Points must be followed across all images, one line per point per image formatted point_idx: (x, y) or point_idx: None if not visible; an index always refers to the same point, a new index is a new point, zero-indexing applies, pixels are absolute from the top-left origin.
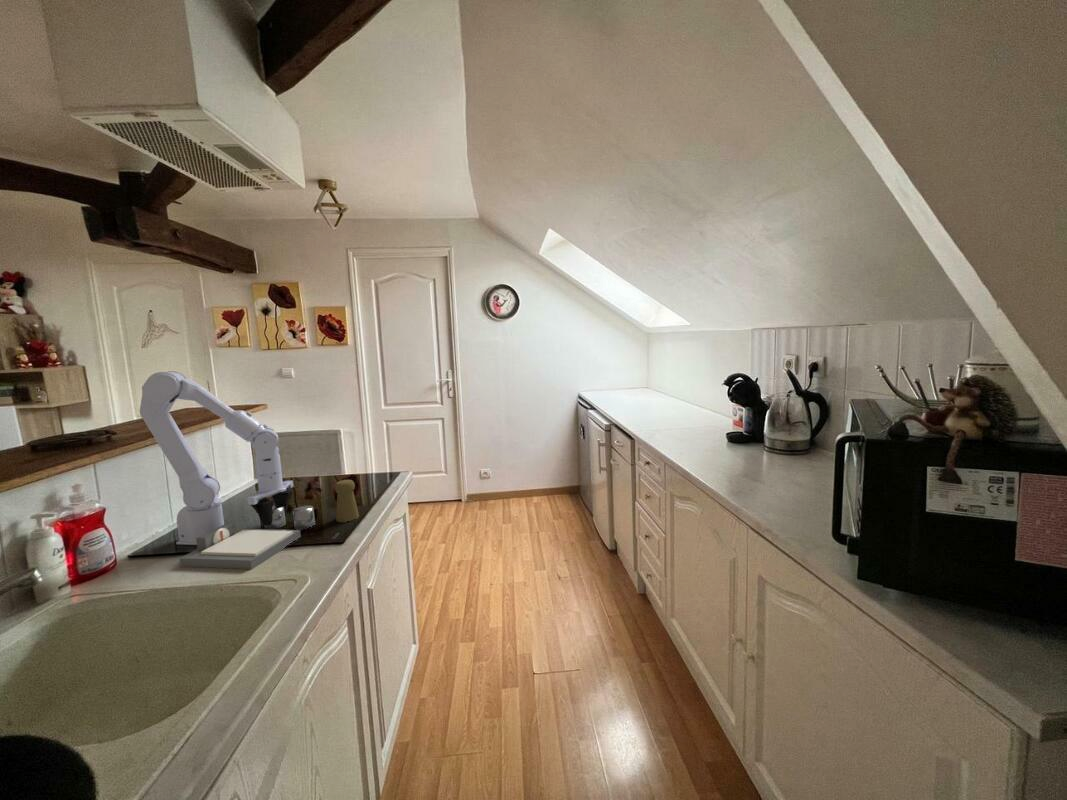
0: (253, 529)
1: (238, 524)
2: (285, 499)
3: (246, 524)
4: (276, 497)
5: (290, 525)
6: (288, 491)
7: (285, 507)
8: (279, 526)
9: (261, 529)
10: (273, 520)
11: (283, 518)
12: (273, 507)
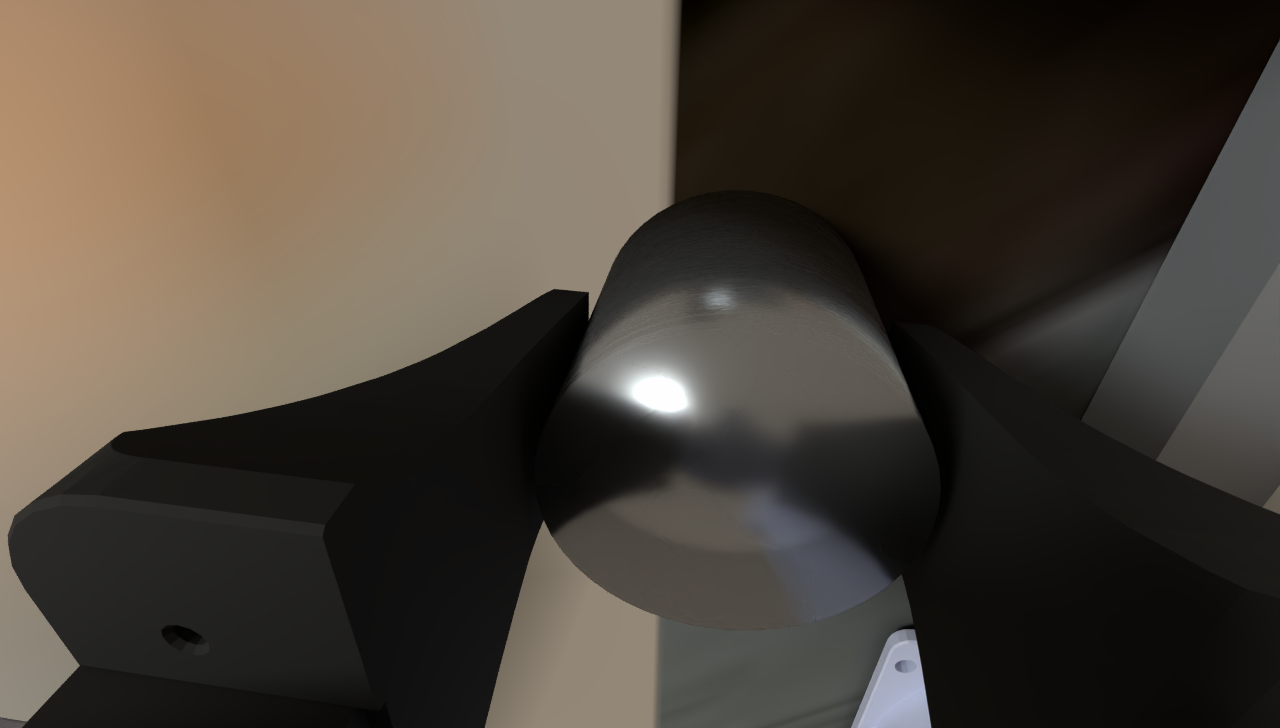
0: (1195, 432)
1: (672, 674)
2: (460, 454)
3: (674, 621)
4: (470, 679)
5: (744, 70)
6: (196, 587)
7: (535, 349)
8: (816, 217)
9: (1269, 305)
10: (882, 324)
11: (731, 230)
12: (678, 525)
